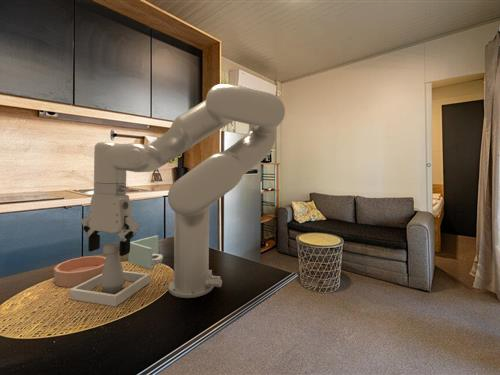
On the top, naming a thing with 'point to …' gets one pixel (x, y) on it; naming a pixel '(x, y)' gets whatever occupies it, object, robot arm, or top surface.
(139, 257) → the right angle wall
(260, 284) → the top surface
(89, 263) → the bowl
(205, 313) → the top surface
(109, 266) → the salt shaker
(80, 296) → the rectangular frame
